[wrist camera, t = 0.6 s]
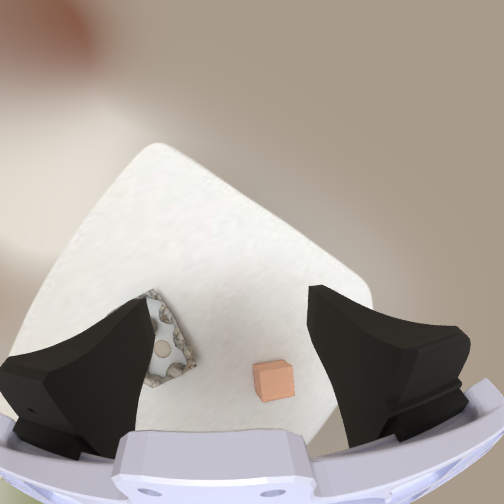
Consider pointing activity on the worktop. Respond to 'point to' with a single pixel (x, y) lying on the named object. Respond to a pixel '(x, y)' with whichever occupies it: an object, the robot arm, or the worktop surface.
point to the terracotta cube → (273, 380)
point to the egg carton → (167, 345)
